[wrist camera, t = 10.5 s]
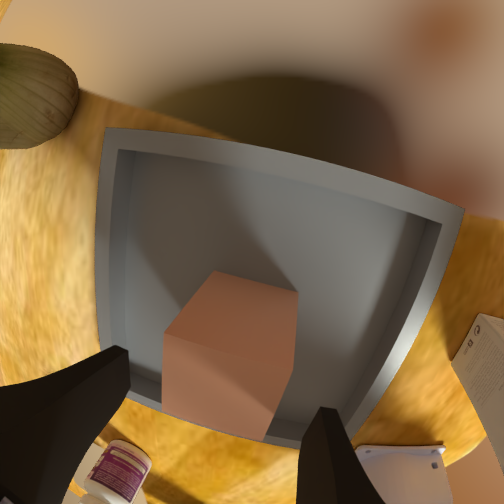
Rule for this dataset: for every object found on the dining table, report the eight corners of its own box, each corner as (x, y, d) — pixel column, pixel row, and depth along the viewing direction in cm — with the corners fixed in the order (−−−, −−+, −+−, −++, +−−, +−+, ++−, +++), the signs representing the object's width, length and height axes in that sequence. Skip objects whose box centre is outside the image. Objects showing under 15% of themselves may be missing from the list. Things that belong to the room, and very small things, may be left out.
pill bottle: (106, 431, 24) (64, 491, 15) (148, 448, 23) (111, 517, 14) (117, 455, 26) (83, 510, 16) (156, 470, 25) (126, 531, 16)
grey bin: (442, 201, 12) (465, 209, 10) (338, 428, 18) (339, 454, 16) (132, 130, 14) (105, 127, 12) (122, 368, 20) (106, 388, 17)
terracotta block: (298, 292, 14) (292, 369, 9) (277, 359, 16) (261, 441, 10) (213, 270, 15) (163, 332, 9) (203, 338, 16) (161, 411, 11)
